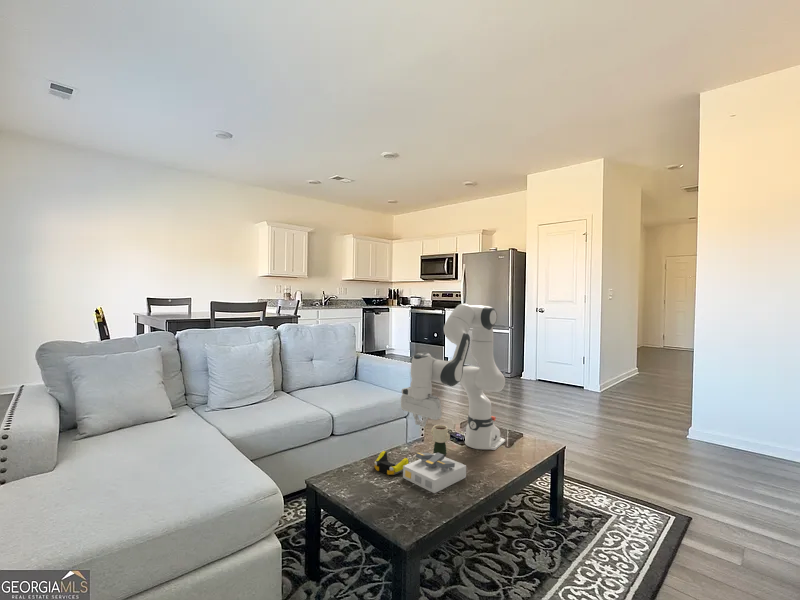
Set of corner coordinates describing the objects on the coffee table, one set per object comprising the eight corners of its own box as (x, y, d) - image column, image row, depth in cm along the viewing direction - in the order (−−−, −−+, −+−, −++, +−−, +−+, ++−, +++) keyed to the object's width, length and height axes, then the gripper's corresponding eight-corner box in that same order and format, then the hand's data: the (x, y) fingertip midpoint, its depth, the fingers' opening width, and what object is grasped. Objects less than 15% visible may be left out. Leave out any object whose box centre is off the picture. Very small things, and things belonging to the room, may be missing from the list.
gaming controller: (383, 461, 179) (368, 469, 171) (383, 449, 179) (368, 456, 171) (410, 470, 170) (396, 479, 162) (410, 458, 170) (397, 465, 162)
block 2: (447, 464, 164) (448, 460, 164) (454, 467, 161) (455, 463, 162) (435, 465, 158) (436, 461, 159) (442, 468, 156) (442, 463, 156)
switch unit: (434, 464, 177) (435, 450, 177) (465, 477, 165) (466, 462, 165) (402, 478, 163) (402, 462, 163) (433, 493, 151) (434, 477, 151)
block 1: (427, 456, 172) (428, 452, 172) (433, 458, 169) (434, 454, 169) (415, 456, 166) (416, 452, 166) (421, 459, 164) (422, 455, 164)
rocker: (438, 455, 168) (437, 452, 168) (444, 458, 166) (444, 454, 165) (425, 465, 163) (425, 461, 162) (432, 468, 160) (431, 464, 160)
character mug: (453, 455, 187) (454, 428, 187) (444, 460, 182) (445, 431, 181) (435, 449, 194) (436, 422, 194) (426, 453, 189) (426, 426, 189)
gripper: (445, 395, 160) (444, 430, 160) (409, 386, 174) (408, 418, 175) (435, 398, 155) (434, 433, 156) (398, 388, 170) (398, 421, 170)
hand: (420, 425), depth 165 cm, fingers closed
